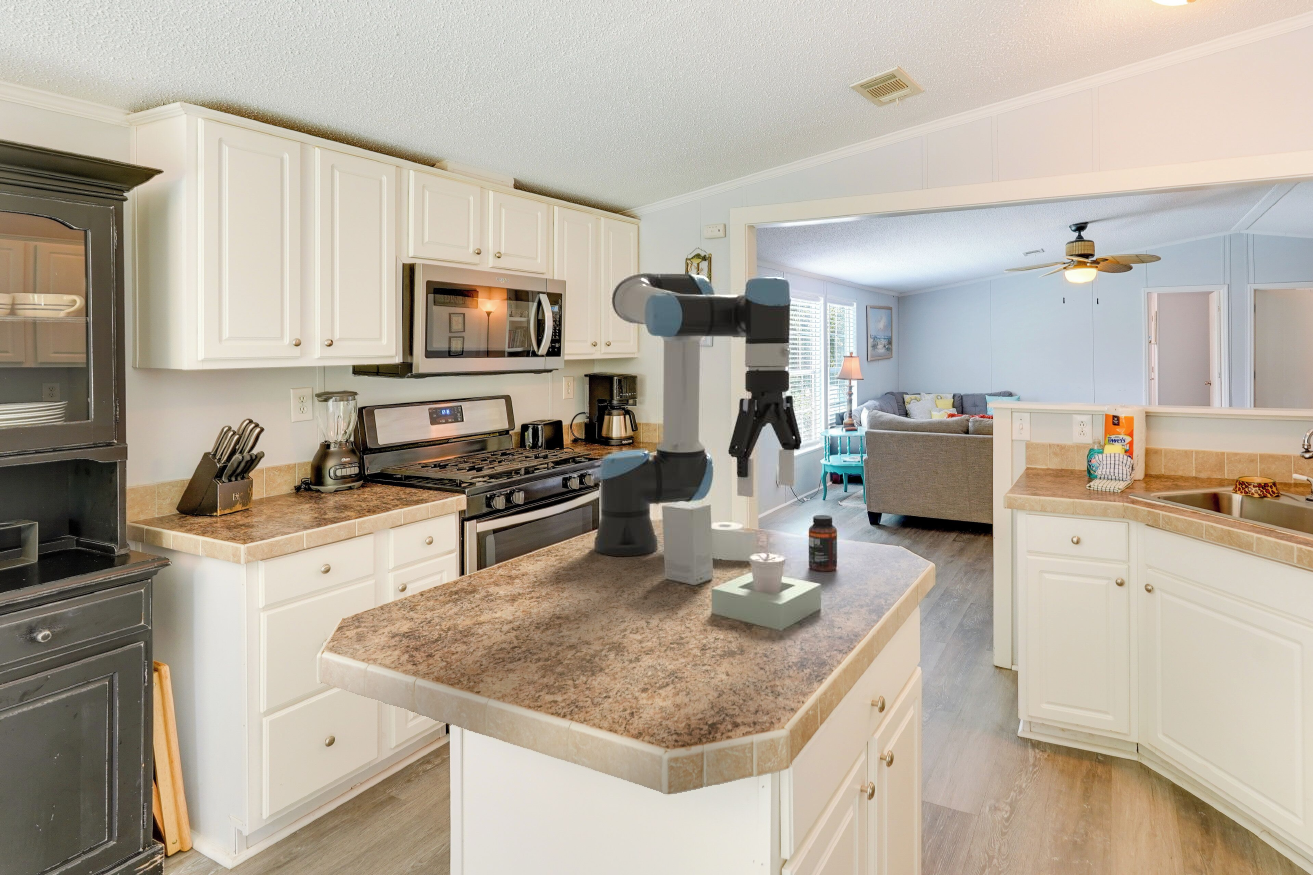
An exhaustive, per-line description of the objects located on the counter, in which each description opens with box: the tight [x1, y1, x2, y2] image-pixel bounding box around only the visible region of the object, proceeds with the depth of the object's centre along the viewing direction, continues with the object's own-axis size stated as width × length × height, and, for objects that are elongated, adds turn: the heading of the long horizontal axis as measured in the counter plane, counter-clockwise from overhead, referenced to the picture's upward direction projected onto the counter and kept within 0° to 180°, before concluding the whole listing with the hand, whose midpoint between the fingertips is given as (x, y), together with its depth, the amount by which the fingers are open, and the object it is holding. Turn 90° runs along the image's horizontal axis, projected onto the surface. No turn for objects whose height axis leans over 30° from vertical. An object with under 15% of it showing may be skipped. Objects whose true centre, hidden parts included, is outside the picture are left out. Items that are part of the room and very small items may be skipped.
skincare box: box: [661, 501, 714, 586], centre depth 152 cm, size 8×7×16 cm
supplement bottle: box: [808, 514, 838, 572], centre depth 159 cm, size 6×6×11 cm
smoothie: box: [748, 532, 786, 595], centre depth 132 cm, size 6×6×14 cm
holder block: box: [711, 571, 822, 632], centre depth 132 cm, size 14×14×4 cm
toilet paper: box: [711, 521, 757, 562], centre depth 171 cm, size 8×11×7 cm
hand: (766, 490), depth 131 cm, fingers open, 13 cm apart
